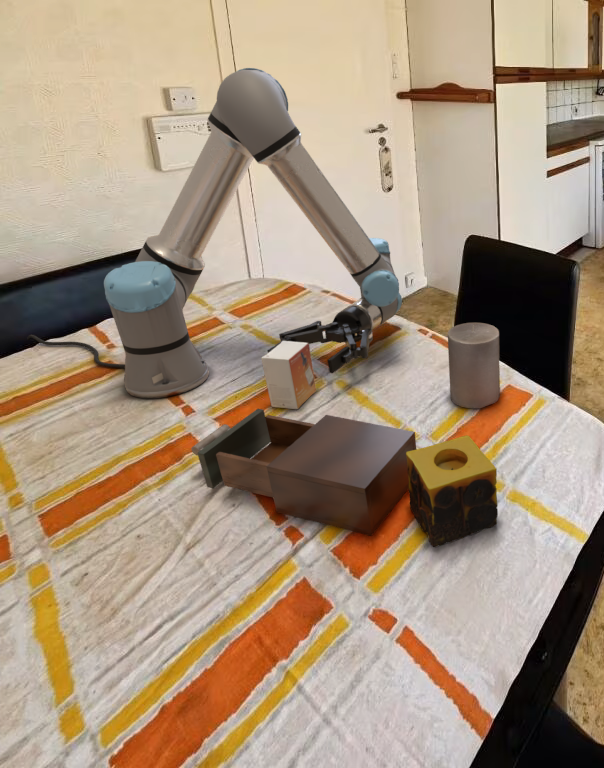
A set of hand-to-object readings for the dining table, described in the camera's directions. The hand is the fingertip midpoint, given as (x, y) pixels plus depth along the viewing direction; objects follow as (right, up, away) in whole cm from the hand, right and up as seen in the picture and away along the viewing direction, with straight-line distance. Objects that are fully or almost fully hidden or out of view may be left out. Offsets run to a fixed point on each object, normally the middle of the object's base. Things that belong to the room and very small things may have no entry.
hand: (299, 361), depth 121 cm
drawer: (+1, -18, -21) cm, 28 cm away
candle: (+33, -24, -30) cm, 50 cm away
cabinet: (+16, -21, -25) cm, 37 cm away
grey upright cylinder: (+34, -7, +1) cm, 35 cm away
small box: (-1, -7, +1) cm, 7 cm away
